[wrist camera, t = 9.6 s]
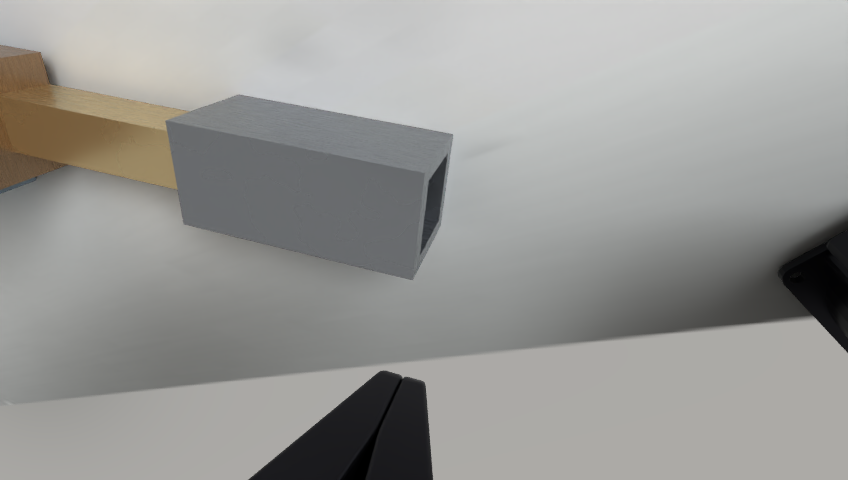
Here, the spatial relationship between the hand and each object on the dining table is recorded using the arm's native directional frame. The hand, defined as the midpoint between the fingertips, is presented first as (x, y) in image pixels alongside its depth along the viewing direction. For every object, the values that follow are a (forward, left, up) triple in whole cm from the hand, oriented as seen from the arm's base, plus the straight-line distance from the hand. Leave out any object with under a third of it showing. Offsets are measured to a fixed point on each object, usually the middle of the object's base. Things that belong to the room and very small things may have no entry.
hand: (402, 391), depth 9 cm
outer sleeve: (+5, +5, -13) cm, 15 cm away
